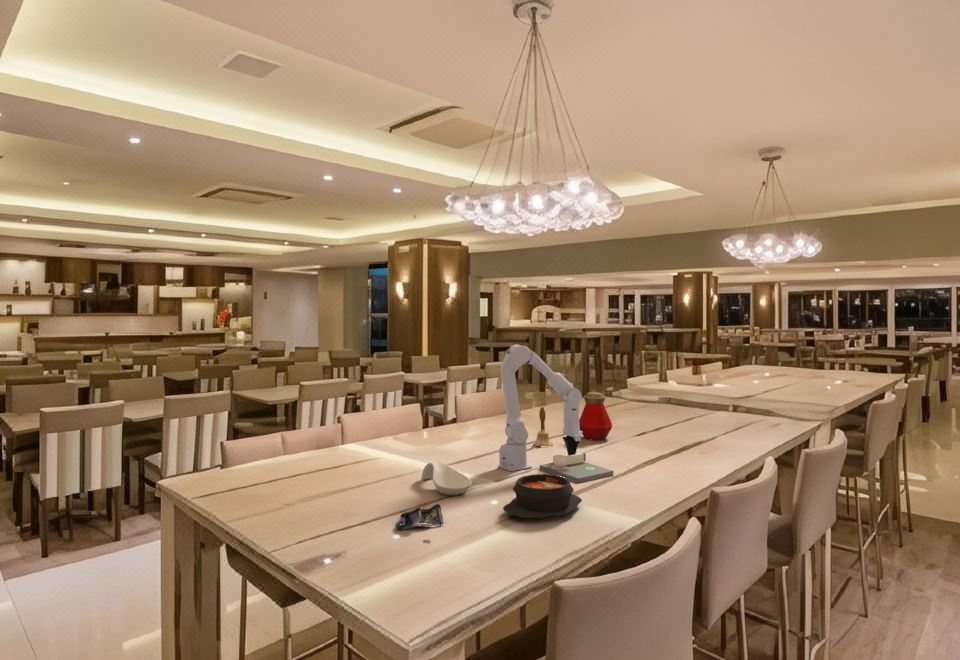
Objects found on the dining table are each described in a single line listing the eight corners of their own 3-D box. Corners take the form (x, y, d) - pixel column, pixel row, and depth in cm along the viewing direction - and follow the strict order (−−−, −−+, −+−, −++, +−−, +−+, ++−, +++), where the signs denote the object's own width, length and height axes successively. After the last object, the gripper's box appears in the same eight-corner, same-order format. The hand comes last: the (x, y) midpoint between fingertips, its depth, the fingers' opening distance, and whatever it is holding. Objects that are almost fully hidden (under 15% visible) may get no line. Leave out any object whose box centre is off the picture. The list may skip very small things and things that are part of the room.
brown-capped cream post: (558, 468, 199) (558, 458, 199) (550, 465, 203) (550, 456, 202) (588, 462, 206) (588, 453, 206) (580, 459, 210) (580, 450, 210)
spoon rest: (478, 494, 177) (478, 471, 177) (445, 501, 171) (444, 477, 171) (442, 476, 198) (442, 455, 197) (410, 482, 191) (410, 460, 191)
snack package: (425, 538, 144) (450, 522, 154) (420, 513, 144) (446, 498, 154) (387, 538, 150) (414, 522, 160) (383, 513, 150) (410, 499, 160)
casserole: (548, 493, 177) (547, 466, 177) (597, 508, 164) (597, 479, 163) (488, 512, 161) (487, 483, 161) (537, 531, 147) (537, 498, 147)
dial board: (578, 482, 188) (578, 478, 188) (539, 469, 205) (539, 464, 205) (613, 475, 197) (613, 470, 197) (573, 462, 213) (573, 458, 213)
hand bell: (546, 448, 237) (546, 409, 236) (529, 445, 242) (529, 407, 241) (556, 444, 244) (556, 406, 243) (539, 441, 249) (539, 405, 248)
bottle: (617, 437, 256) (617, 392, 256) (606, 443, 245) (606, 396, 244) (584, 433, 265) (583, 390, 264) (572, 439, 253) (572, 393, 253)
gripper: (589, 422, 205) (589, 460, 206) (575, 415, 220) (575, 451, 220) (570, 423, 204) (570, 461, 204) (557, 416, 218) (557, 452, 219)
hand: (571, 456), depth 212 cm, fingers closed
